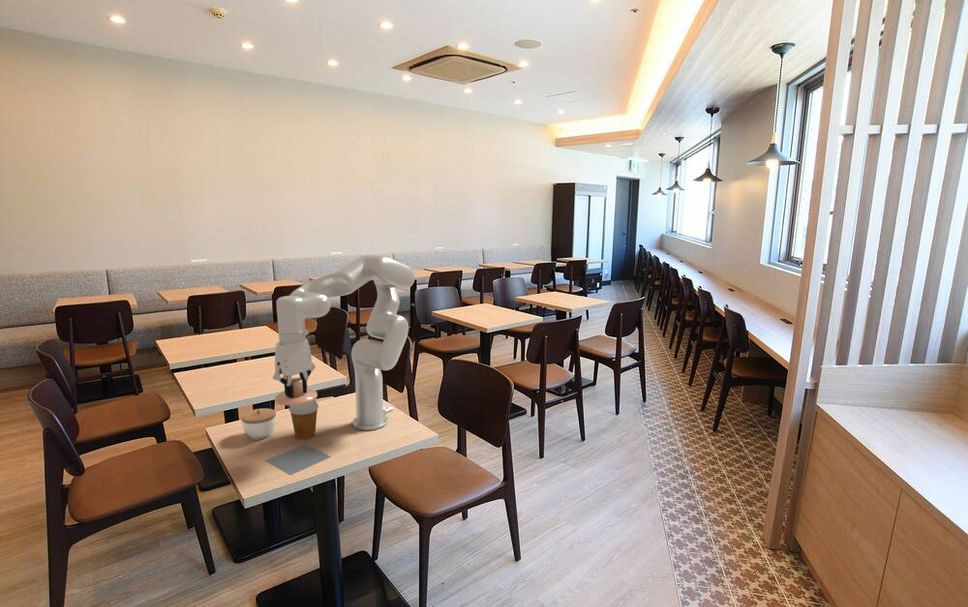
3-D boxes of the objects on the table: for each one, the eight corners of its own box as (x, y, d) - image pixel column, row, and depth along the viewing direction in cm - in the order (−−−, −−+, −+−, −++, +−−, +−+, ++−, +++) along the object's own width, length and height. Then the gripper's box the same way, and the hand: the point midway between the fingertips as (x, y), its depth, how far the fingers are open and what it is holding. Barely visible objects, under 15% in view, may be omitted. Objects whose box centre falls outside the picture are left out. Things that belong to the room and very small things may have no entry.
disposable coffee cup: (324, 436, 169) (323, 404, 166) (297, 445, 162) (295, 411, 160) (312, 428, 175) (310, 396, 173) (285, 436, 169) (283, 403, 167)
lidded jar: (238, 435, 169) (236, 409, 168) (269, 426, 177) (268, 401, 175) (249, 445, 162) (247, 418, 160) (282, 435, 169) (280, 410, 167)
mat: (305, 445, 162) (305, 444, 162) (331, 458, 154) (331, 456, 154) (265, 462, 151) (264, 460, 151) (290, 476, 143) (290, 474, 143)
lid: (302, 388, 159) (301, 371, 158) (325, 396, 152) (324, 378, 151) (267, 399, 149) (266, 381, 148) (290, 408, 143) (289, 389, 141)
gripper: (309, 329, 156) (312, 384, 159) (259, 340, 143) (264, 400, 146) (323, 333, 152) (326, 389, 155) (273, 345, 138) (278, 405, 142)
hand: (296, 393), depth 151 cm, fingers closed on lid, 4 cm apart
